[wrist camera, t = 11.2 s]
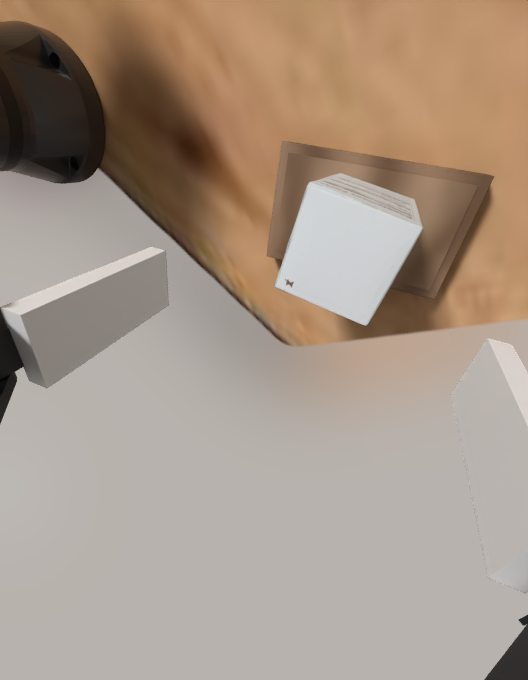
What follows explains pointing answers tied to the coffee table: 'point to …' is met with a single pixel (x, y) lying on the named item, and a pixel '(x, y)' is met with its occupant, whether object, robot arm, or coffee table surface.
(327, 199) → the supplement box
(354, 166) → the walnut board
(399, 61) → the coffee table surface
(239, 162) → the coffee table surface
